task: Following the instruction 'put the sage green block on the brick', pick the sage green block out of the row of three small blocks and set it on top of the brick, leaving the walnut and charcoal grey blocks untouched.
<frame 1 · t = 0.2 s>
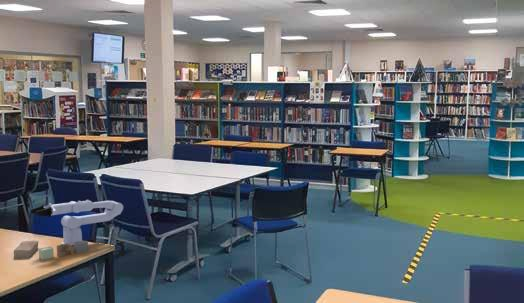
hand: (33, 212, 275), 21 cm above the table, tool horizontal, fingers open, 7 cm apart
brick: (26, 253, 275), on the table
green block: (46, 257, 268), on the table
walnut block: (64, 254, 273), on the table
grey block: (81, 251, 278), on the table
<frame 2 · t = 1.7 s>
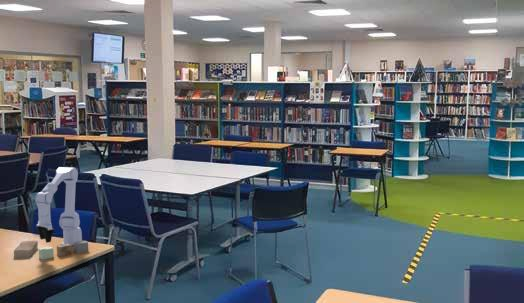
hand: (45, 240, 267), 9 cm above the table, tool pointing down, fingers open, 7 cm apart
nothing on the table moved.
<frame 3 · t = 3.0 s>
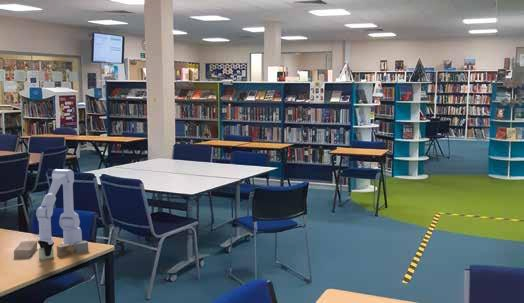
hand: (46, 254, 267), 1 cm above the table, tool pointing down, fingers closed on green block, 4 cm apart
green block: (46, 257, 268), on the table, touching gripper
everything else where it was.
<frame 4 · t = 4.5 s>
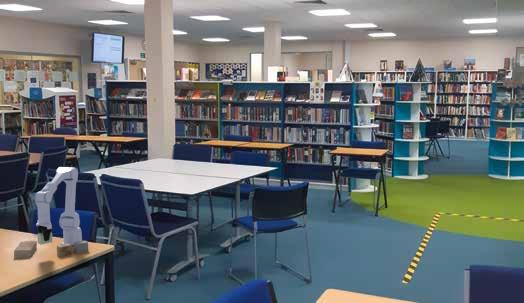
hand: (45, 239, 267), 9 cm above the table, tool pointing down, fingers closed on green block, 4 cm apart
green block: (45, 242, 267), point 8 cm above the table, touching gripper
everything else where it was.
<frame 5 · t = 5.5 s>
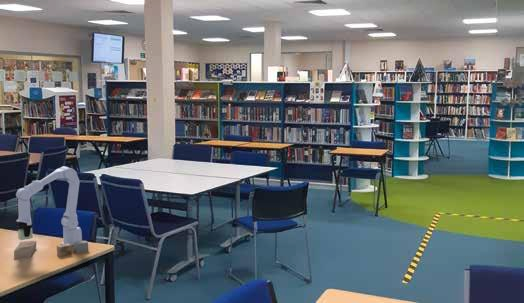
hand: (25, 235, 274), 9 cm above the table, tool pointing down, fingers closed on green block, 4 cm apart
green block: (25, 238, 274), point 8 cm above the table, touching gripper
everything else where it was.
when the fingers open (8 cm above the table, at t = 6.2 s): green block drops 2 cm, resting on brick.
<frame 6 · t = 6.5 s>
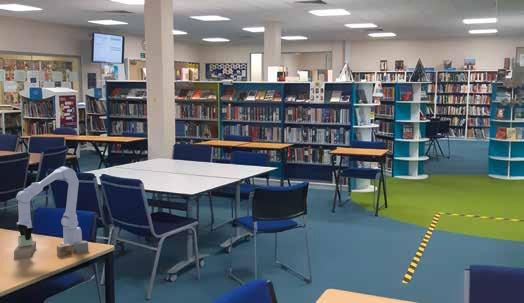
hand: (25, 238, 274), 8 cm above the table, tool pointing down, fingers open, 7 cm apart
brick: (25, 253, 275), on the table, touching green block
green block: (25, 245, 275), point 4 cm above the table, touching brick
everything else where it was.
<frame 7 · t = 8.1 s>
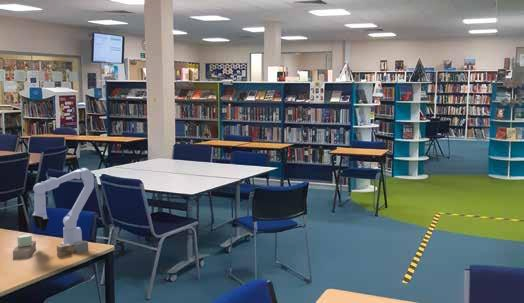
hand: (40, 229, 283), 10 cm above the table, tool pointing down, fingers open, 7 cm apart
nothing on the table moved.
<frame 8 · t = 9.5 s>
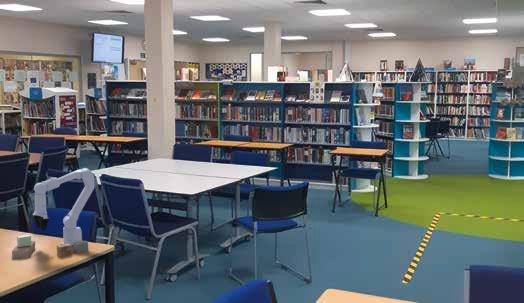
hand: (41, 229, 283), 10 cm above the table, tool pointing down, fingers open, 7 cm apart
brick: (24, 254, 275), on the table
green block: (24, 245, 274), point 4 cm above the table
everything else where it was.
at the end: green block inside the target area on the brick (0.4 cm from its centre), point 4.8 cm above the brick's base; walnut block moved 0.1 cm from its start; grey block moved 0.1 cm from its start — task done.
